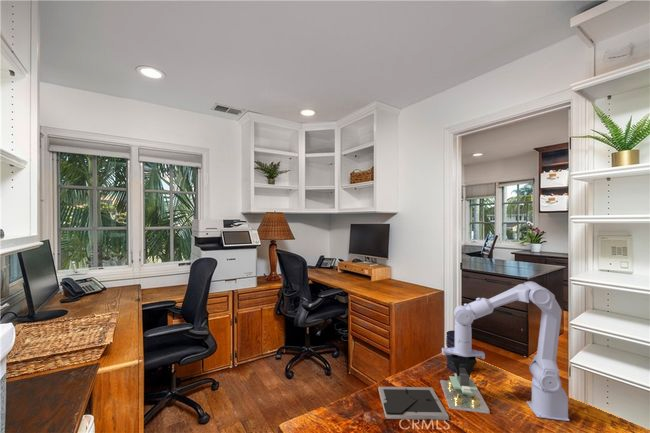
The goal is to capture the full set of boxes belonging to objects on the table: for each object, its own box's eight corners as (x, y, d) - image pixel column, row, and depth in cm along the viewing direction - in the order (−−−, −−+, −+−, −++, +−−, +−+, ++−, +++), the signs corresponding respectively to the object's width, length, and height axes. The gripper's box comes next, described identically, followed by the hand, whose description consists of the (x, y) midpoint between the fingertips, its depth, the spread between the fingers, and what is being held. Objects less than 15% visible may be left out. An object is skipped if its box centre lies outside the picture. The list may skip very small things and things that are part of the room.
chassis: (474, 386, 113) (474, 376, 113) (489, 413, 97) (489, 402, 97) (440, 382, 115) (440, 373, 115) (449, 408, 100) (449, 397, 100)
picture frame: (386, 420, 95) (448, 422, 94) (386, 412, 95) (448, 413, 94) (378, 391, 110) (432, 392, 110) (378, 384, 110) (432, 385, 110)
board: (469, 376, 111) (469, 364, 111) (479, 395, 99) (479, 382, 99) (447, 374, 113) (447, 362, 113) (455, 392, 101) (455, 379, 101)
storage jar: (441, 367, 127) (441, 333, 127) (452, 360, 133) (453, 328, 133) (464, 377, 119) (464, 341, 119) (474, 369, 125) (474, 335, 125)
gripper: (480, 336, 109) (480, 371, 109) (440, 333, 111) (440, 367, 111) (487, 344, 102) (486, 382, 102) (444, 340, 105) (444, 377, 105)
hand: (462, 375), depth 106 cm, fingers closed on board, 3 cm apart
